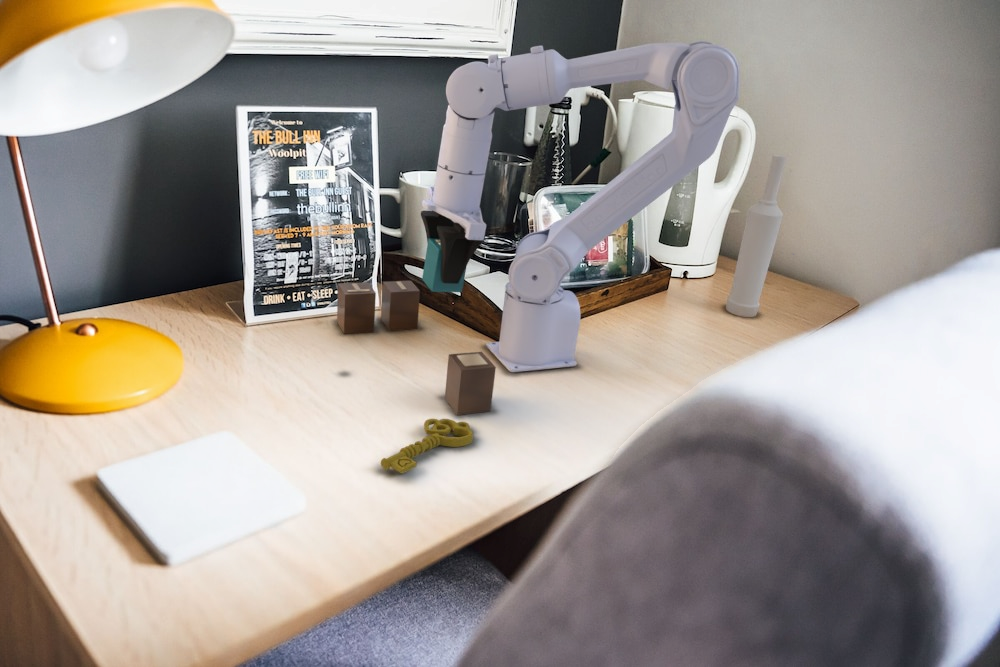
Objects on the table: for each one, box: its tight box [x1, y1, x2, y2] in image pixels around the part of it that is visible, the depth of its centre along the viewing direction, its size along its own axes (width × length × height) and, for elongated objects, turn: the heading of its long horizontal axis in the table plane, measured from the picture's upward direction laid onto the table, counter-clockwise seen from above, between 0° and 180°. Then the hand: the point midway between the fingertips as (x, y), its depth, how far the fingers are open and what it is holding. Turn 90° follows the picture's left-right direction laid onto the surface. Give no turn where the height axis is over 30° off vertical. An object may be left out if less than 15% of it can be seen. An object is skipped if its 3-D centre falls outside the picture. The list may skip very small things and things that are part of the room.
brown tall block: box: [444, 351, 496, 416], centre depth 85 cm, size 4×4×6 cm
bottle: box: [725, 154, 788, 318], centre depth 119 cm, size 5×5×25 cm
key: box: [380, 418, 474, 474], centre depth 77 cm, size 12×1×5 cm
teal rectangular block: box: [421, 239, 467, 293], centre depth 96 cm, size 4×4×6 cm
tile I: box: [380, 280, 421, 332], centre depth 103 cm, size 4×4×6 cm
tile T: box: [336, 281, 377, 335], centre depth 101 cm, size 4×4×6 cm
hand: (443, 275), depth 96 cm, fingers closed on teal rectangular block, 4 cm apart
